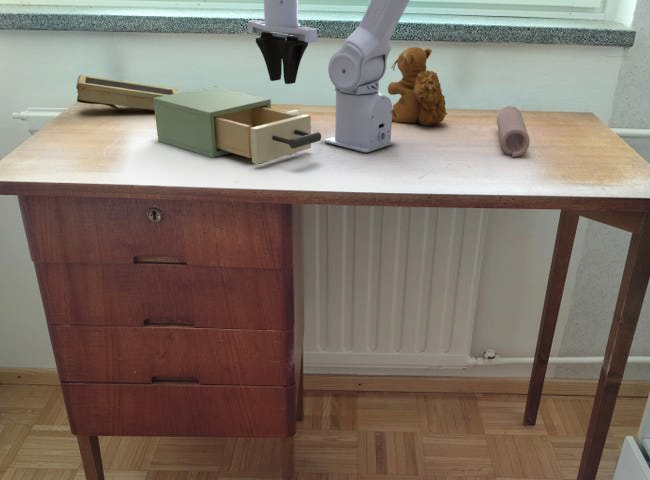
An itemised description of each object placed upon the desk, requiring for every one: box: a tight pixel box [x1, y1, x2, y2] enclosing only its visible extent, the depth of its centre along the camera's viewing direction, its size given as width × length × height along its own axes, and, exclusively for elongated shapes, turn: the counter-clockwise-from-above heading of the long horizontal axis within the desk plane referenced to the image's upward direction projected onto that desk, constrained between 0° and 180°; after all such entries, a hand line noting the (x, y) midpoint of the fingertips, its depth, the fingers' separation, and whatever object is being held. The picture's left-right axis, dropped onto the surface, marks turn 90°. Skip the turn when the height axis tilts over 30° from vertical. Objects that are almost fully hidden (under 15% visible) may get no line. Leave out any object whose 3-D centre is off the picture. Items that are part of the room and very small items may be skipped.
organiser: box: [153, 86, 272, 159], centre depth 117 cm, size 14×14×7 cm
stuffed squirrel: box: [387, 46, 449, 127], centre depth 132 cm, size 10×14×13 cm
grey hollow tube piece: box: [496, 105, 531, 158], centre depth 123 cm, size 5×5×18 cm
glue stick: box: [286, 109, 303, 116], centre depth 126 cm, size 8×3×3 cm, turn 141°
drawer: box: [214, 106, 322, 165], centre depth 111 cm, size 18×12×5 cm
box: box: [75, 74, 180, 112], centre depth 135 cm, size 8×22×5 cm, turn 107°
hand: (282, 81), depth 123 cm, fingers open, 3 cm apart
